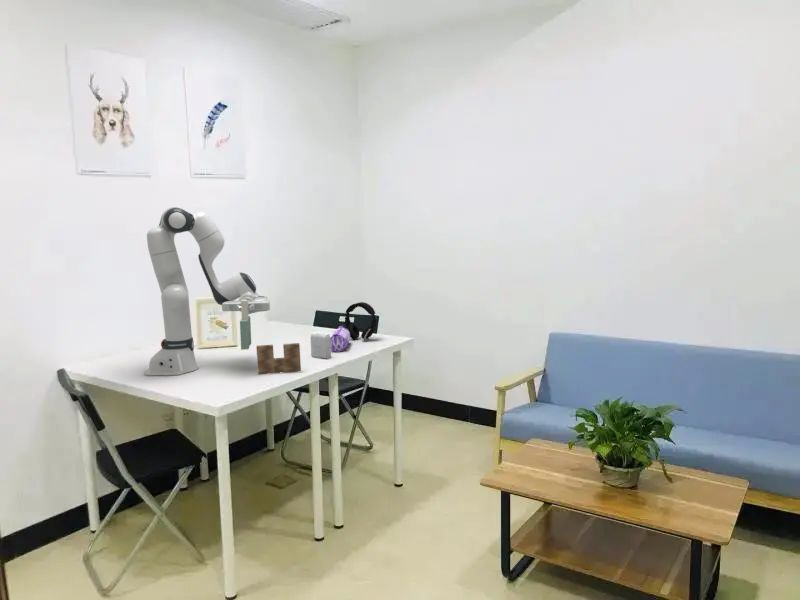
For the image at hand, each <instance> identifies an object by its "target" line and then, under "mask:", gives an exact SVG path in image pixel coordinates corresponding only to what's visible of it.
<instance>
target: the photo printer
mask: <svg viewBox="0 0 800 600" xmlns="http://www.w3.org/2000/svg"><path fill="white" fill-rule="evenodd" d="M330 338H331V336H330V334H329V333H327V332H326V331H322V330H321V331H320V330H318V331H314V332H311V333H310V355H311V357H312V356H313V357H314V358H319V359H325V358H328V359H330V358H331V357H332V350H331V343H330ZM313 357H312V358H313Z"/></svg>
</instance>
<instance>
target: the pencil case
mask: <svg viewBox="0 0 800 600" xmlns="http://www.w3.org/2000/svg"><path fill="white" fill-rule="evenodd" d="M350 341H351V337H350V332H349V331H348V330H347V328H345V327H344V326H343V325H341V326H338V328H337V329H336V330H335V331H334V333H333V334H332V335H331V336H330V343H331V351H333V352H336V353H340V352H342V351H344V350H345V349H346V348H347V346H348V344H349V343H350Z"/></svg>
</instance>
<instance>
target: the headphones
mask: <svg viewBox="0 0 800 600" xmlns="http://www.w3.org/2000/svg"><path fill="white" fill-rule="evenodd" d="M356 308H362V309H364V310H365V311H366V312H367V313H368V315H370V316H371V317H372V320H371V323H370V325H366V327H365V328H364V329H363V330H362V332H361V335H360V330H359V327H358V326H357V325H356V324H354V323H353V324H351V319H350V313H353V311H354V310H355V309H356ZM344 313H345V314H346V315H345V317H344V325H345V326H346V329H347V330H348V331H349V332H350V339H352V340H353V341H355V340H357V339H359V336H360V337H361V338H362V339H363V341H367V340H369V339H370V338H371V337H372V335H373V334H374V331H375V329H376V327H377V319H376V315H375V314H376V311H375V309H374V308H373V306H371V304H369V303H367V302H365V301H363V302H362V301H361V302H357V303H353V304H351V305H349V306H348V307H347V308H346V310H345V312H344Z"/></svg>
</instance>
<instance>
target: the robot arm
mask: <svg viewBox="0 0 800 600" xmlns="http://www.w3.org/2000/svg"><path fill="white" fill-rule="evenodd" d="M184 232H189V233H190V234H191V235H192V236H193V238H194V240H195V241H196V243H197V244H198V247H199V254H198V261H199V264H200V267H201V269H202V271H203V274H204V276H205V279H206V281H207V283H208V286H209V287H210V291H211V294H212V297H213V299H214V301H215V303H217V304H218V305H220V306H221V311H223V312H241V300H248V307H247V308H248V315H251V314H256V313H258V312H260V313H261V312H268V311H270V310H271V308H270V307H271V304H270V300H269V298H268V296H265V295H259V294H258V292H257V285H256V284H255V282H254V280H253V279H252V277H250V275H248V274H247V273H244V272H239V273H237V274H235V275H233V276H231V277H230V278H228V279H226V280H224V281H222V282H219V280H218V278H217V275H216V273H215V270H214V268H213V263H214V261H215V259H216V258H217V257H218V255H219V254H220V253H221V252H222V251H223V250H224V249H223V248H224V247H225V237H224V235H223V233H222V232H221V230H220V229H219V227H218V226H217V224H216V223H215V222H214V220H213V219H212V218H211V217H210V215H208V214H207V213H206V212H205V211H197V212H194V213H190V212H188V211H186V209H185V210H184V209H183V208H180V207H177V206H176V207H175V206H174V207H169V208H167V209H165V211H163V213H162V215H161V217H160V220H159V224H158V226H155V227H152V228H150V229H149V230H148V232H147V233H146V240H147V241H146V242H147V249H148V252H149V253H148V254H149V257H150V260H151V263H152V267H153V272H154V274H155V276H156V277H155V278H156V281H157V283H158V286H159V289H160V293H161V297H160V298H161V299H160V300H161V307H162V317H163V326H164V335H165V336H164V337H165V338H163V339H162V340H161V342H160V346H161V348H160V349H159V350H158V351H157V352H156V353H154V355H153V356H152V357H151V358H150V360H149V363H148V364H149V365H148V367H147V368H145V370H144V371H143V375H144V374H145V375H144V376H180V375H183V374H185V373H189V372H193V371H196V370H198V369H199V365H198V363H197V360H196V357H195V351H194V349H195V344H194V343H195V342H194V337H193V336H192V335H193V334H192V333H193V332H192V322H191V321H192V320H191V310H190V299H189V291H188V286H187V283H186V279H185V276H184V272H183V269H182V266H181V262H180V259H179V255H178V251H177V247H176V244H175V236H176V235H177V234H181V233H184ZM237 299H238V300H237Z"/></svg>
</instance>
